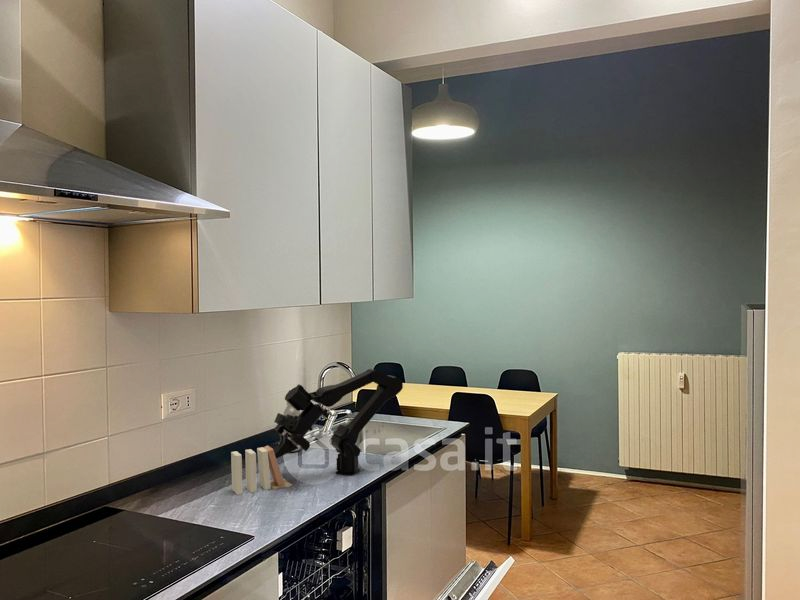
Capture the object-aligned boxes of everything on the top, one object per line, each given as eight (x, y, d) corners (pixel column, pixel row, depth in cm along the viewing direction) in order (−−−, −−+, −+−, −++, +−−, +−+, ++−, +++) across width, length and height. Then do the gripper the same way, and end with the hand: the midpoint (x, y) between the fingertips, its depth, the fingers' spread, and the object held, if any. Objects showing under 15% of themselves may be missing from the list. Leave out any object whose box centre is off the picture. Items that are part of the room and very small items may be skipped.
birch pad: (283, 479, 209) (283, 478, 209) (292, 486, 202) (292, 484, 202) (266, 482, 206) (266, 481, 206) (273, 489, 199) (273, 488, 199)
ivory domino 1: (237, 488, 200) (236, 451, 200) (242, 493, 195) (241, 455, 195) (231, 489, 199) (231, 452, 199) (236, 494, 194) (235, 456, 194)
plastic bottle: (280, 452, 242) (279, 400, 241) (289, 448, 248) (288, 397, 248) (295, 454, 240) (294, 401, 239) (304, 449, 246) (303, 398, 245)
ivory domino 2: (251, 486, 202) (250, 449, 202) (256, 491, 197) (255, 453, 197) (246, 487, 201) (245, 449, 201) (251, 492, 197) (250, 453, 196)
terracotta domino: (278, 478, 207) (267, 445, 205) (284, 483, 202) (273, 449, 200) (273, 481, 206) (262, 447, 204) (279, 486, 201) (267, 451, 199)
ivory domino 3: (265, 483, 205) (262, 447, 204) (270, 488, 200) (267, 451, 199) (260, 485, 204) (256, 448, 203) (265, 489, 199) (262, 452, 198)
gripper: (280, 399, 213) (248, 436, 208) (300, 408, 197) (265, 448, 192) (302, 420, 217) (271, 456, 212) (323, 431, 201) (291, 470, 196)
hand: (274, 457), depth 203 cm, fingers closed
